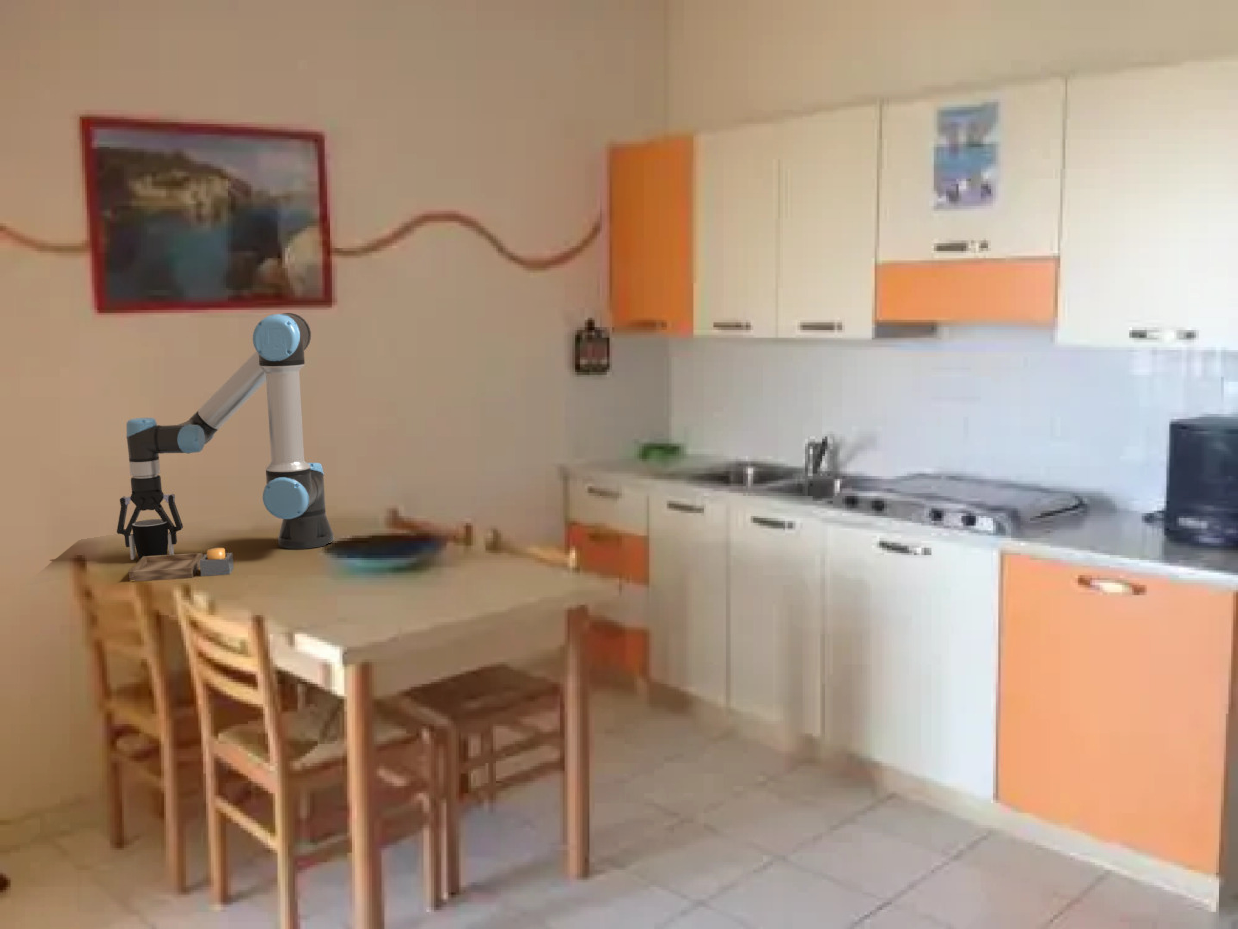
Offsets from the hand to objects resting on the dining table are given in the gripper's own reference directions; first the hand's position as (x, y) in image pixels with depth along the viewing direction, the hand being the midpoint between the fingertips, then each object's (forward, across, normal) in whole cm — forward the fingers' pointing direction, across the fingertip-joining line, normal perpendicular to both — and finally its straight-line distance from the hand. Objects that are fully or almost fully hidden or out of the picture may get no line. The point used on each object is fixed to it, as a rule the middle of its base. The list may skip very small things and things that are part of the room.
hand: (152, 557), depth 328 cm
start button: (-1, -20, +21) cm, 29 cm away
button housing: (0, -20, +21) cm, 29 cm away
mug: (0, +1, 0) cm, 1 cm away
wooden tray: (0, -7, +17) cm, 18 cm away
